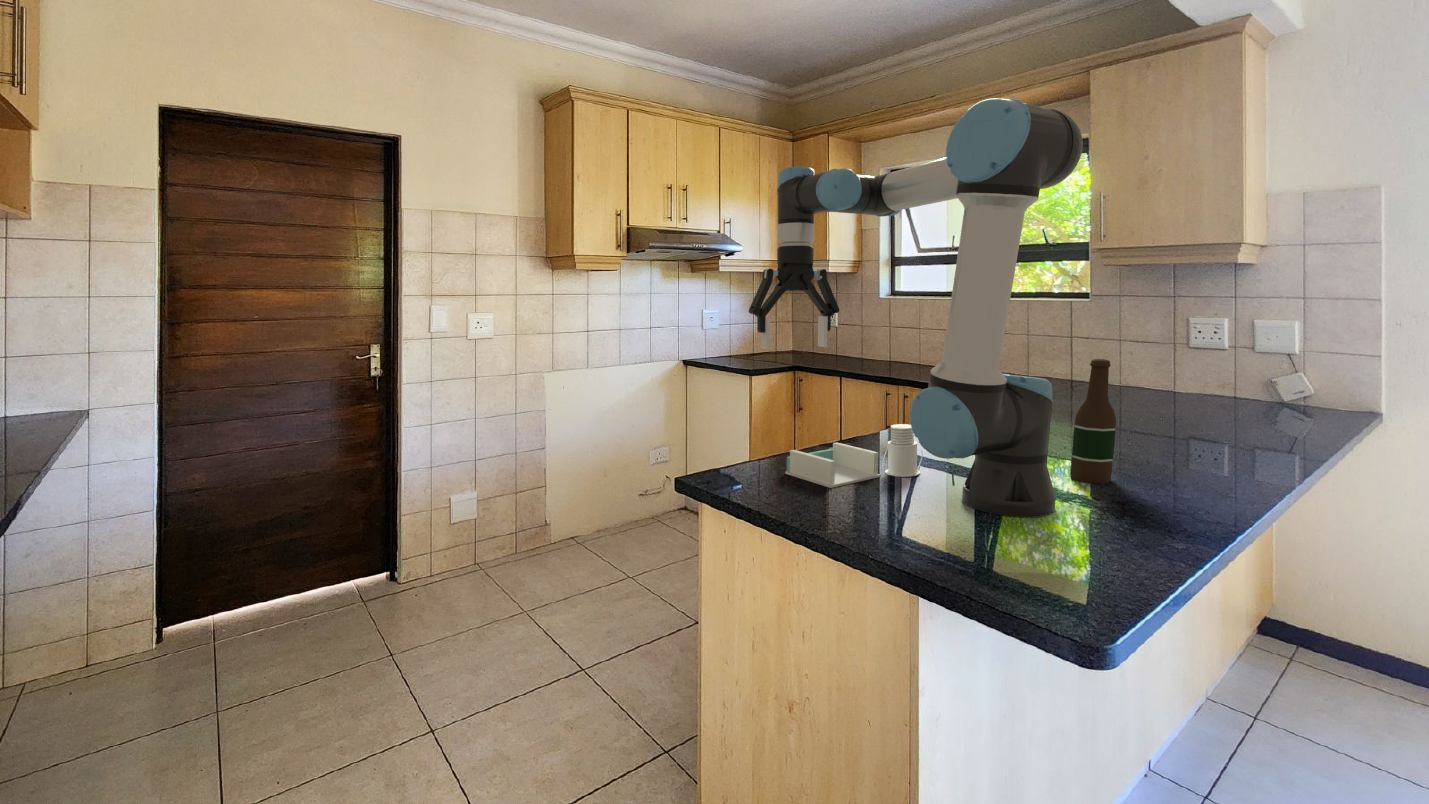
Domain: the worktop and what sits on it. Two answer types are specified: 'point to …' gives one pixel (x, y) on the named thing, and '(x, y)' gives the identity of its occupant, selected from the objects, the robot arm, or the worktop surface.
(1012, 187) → the robot arm
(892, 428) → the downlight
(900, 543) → the worktop surface
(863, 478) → the holder
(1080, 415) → the beer bottle
